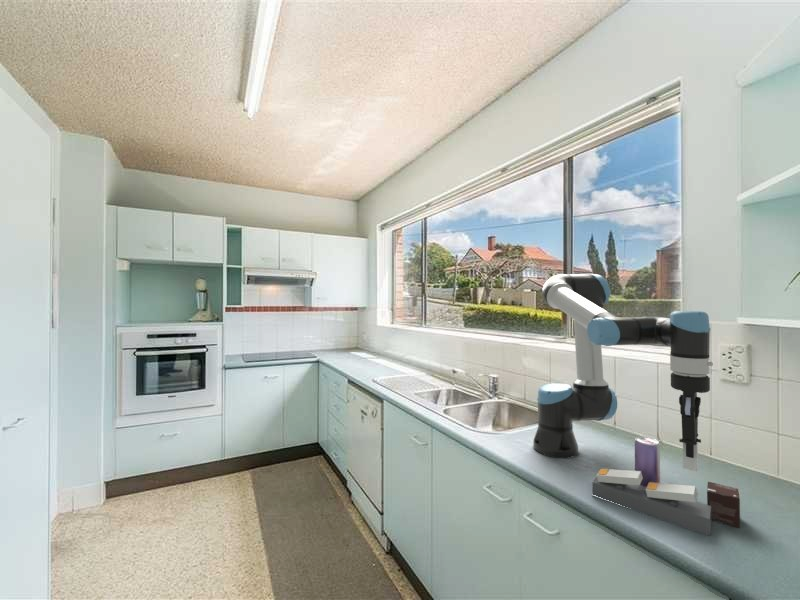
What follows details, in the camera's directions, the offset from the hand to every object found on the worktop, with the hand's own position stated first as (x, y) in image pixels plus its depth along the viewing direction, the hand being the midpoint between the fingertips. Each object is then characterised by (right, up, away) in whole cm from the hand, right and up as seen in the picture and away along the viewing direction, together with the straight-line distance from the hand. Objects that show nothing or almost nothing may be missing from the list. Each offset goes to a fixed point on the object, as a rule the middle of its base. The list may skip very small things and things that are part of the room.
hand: (690, 468), depth 88 cm
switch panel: (-6, -13, +6) cm, 16 cm away
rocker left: (-11, -8, +10) cm, 17 cm away
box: (+10, -14, +2) cm, 17 cm away
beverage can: (-1, -14, +14) cm, 19 cm away
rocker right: (-3, -8, +3) cm, 9 cm away
